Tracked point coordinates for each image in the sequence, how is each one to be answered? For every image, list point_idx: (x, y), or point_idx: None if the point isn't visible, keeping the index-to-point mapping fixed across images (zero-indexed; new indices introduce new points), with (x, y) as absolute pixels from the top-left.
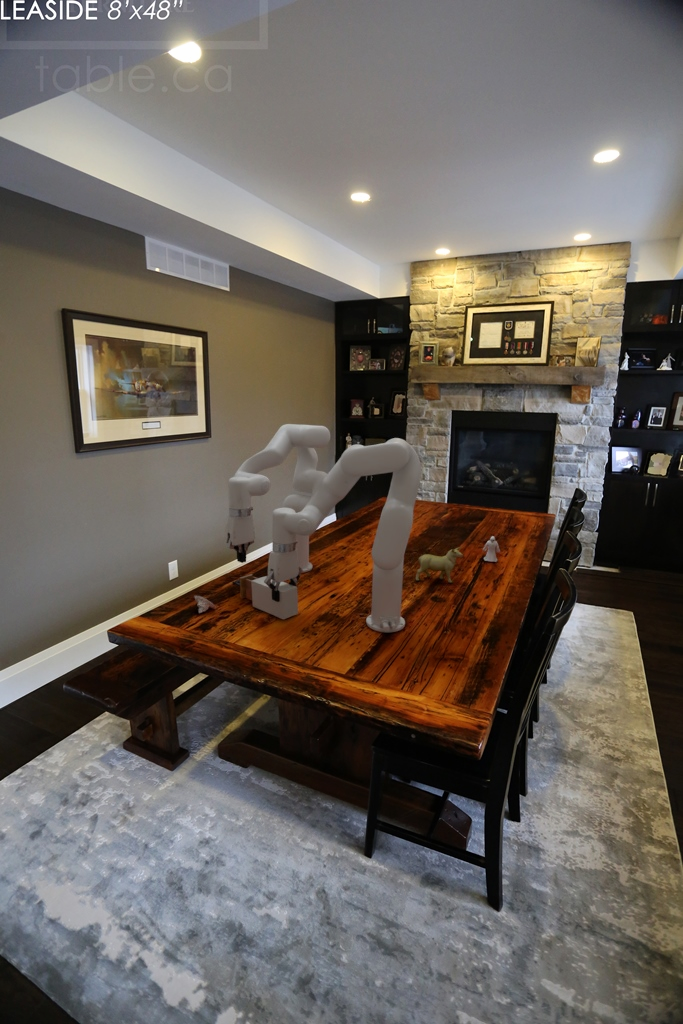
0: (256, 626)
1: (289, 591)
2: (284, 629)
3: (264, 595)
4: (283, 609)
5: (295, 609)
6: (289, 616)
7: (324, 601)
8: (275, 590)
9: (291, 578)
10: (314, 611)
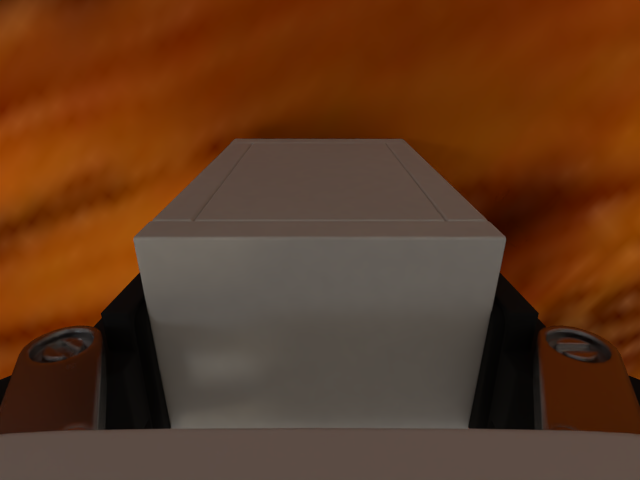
0: (584, 221)
1: (335, 223)
2: (497, 16)
3: None
4: (419, 160)
5: (259, 147)
6: (335, 140)
7: None
8: (597, 336)
9: (164, 436)
10: (76, 96)
